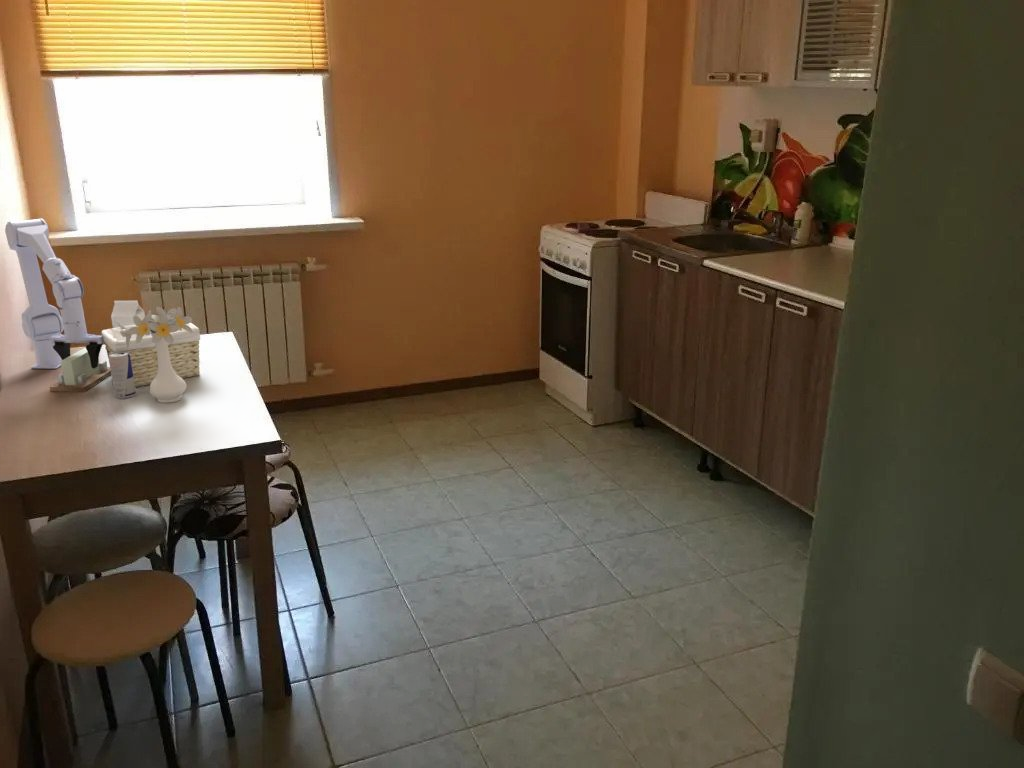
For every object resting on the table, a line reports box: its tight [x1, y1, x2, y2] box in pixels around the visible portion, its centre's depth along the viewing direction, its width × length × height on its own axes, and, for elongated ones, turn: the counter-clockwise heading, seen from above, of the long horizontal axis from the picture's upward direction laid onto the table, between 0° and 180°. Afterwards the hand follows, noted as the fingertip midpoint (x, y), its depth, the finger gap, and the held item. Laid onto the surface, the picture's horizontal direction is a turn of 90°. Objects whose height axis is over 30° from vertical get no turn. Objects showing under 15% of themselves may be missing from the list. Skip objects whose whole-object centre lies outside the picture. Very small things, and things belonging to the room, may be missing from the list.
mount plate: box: [49, 366, 111, 392], centre depth 247 cm, size 18×10×1 cm, turn 177°
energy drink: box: [108, 351, 137, 400], centre depth 233 cm, size 5×5×12 cm
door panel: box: [60, 347, 100, 385], centre depth 246 cm, size 14×3×7 cm, turn 177°
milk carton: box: [110, 300, 146, 328], centre depth 262 cm, size 7×7×19 cm
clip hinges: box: [56, 360, 108, 385], centre depth 247 cm, size 14×7×2 cm, turn 177°
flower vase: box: [117, 306, 193, 404], centre depth 228 cm, size 13×18×25 cm
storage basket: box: [101, 322, 201, 388], centre depth 248 cm, size 24×16×15 cm
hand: (82, 367), depth 246 cm, fingers open, 7 cm apart
